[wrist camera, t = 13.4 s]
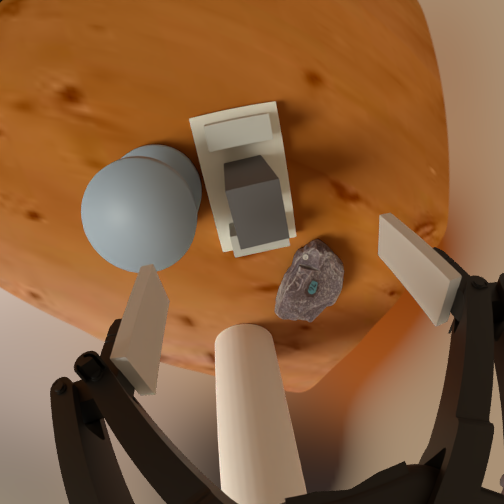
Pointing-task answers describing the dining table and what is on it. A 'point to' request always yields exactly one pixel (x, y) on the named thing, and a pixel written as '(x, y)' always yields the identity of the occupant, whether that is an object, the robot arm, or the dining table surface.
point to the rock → (310, 283)
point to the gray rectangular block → (255, 202)
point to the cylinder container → (254, 420)
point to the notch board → (235, 148)
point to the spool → (143, 208)
